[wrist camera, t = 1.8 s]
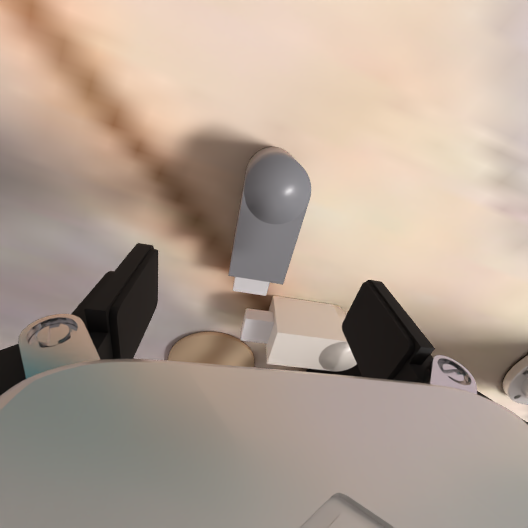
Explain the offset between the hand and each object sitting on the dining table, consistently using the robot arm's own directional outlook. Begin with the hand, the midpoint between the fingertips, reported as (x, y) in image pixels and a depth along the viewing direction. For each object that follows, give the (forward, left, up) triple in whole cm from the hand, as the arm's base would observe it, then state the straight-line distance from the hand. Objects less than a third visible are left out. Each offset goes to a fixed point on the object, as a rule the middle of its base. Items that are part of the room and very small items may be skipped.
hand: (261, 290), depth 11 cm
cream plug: (-7, +10, -11) cm, 16 cm away
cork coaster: (+1, +19, -11) cm, 22 cm away
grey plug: (-1, 0, -11) cm, 11 cm away
